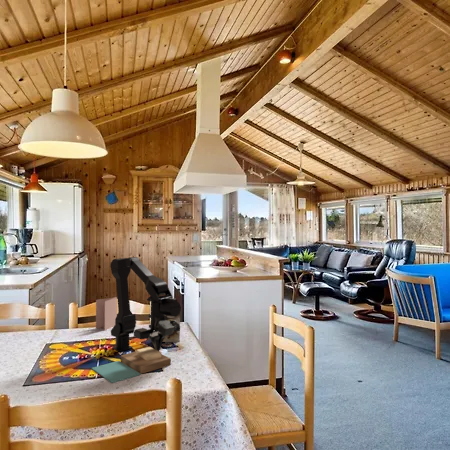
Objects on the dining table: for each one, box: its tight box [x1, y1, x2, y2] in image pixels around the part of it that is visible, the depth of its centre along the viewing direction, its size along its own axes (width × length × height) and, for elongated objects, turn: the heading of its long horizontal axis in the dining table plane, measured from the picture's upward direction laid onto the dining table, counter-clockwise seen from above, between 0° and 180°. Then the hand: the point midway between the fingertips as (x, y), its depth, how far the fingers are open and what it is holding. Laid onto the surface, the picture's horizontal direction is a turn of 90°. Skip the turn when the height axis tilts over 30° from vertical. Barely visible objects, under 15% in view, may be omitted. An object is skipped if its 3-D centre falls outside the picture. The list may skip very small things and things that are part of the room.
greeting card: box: [95, 296, 118, 331], centre depth 197 cm, size 11×7×15 cm, turn 130°
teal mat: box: [91, 360, 141, 384], centre depth 139 cm, size 17×11×1 cm, turn 42°
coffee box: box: [163, 312, 181, 343], centre depth 176 cm, size 9×6×16 cm
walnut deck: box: [120, 351, 172, 375], centre depth 147 cm, size 16×13×2 cm
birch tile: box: [135, 346, 162, 361], centre depth 148 cm, size 9×6×2 cm, turn 42°
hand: (157, 351), depth 151 cm, fingers closed
